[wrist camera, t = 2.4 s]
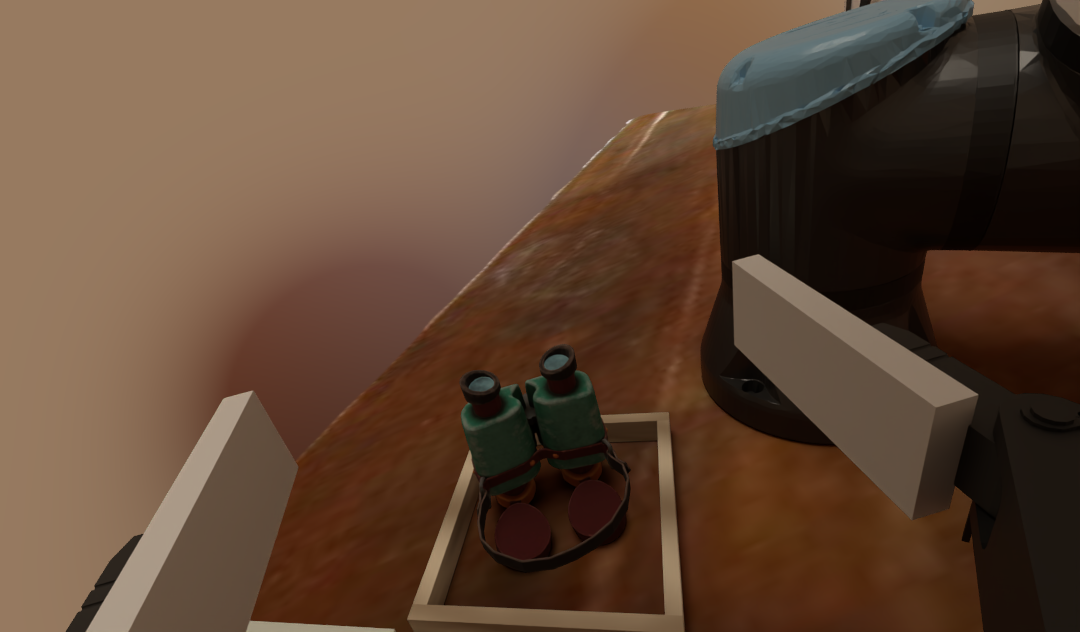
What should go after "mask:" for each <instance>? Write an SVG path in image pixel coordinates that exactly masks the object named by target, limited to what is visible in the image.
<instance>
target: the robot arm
mask: <svg viewBox="0 0 1080 632" xmlns="http://www.w3.org/2000/svg"><path fill="white" fill-rule="evenodd" d="M973 8H974V2H973V1H972V0H883V1H880V2H876V3H872V4H869V5H865V6H862V7H859V8H855V9H852V10H849V11H845V12H842V13H839V14H836V15H833V16H830V17H827V18H823V19H821V20H818V21H814V22H812V23H808V24H805V25H803V26H800V27H798V28H794V29H792V30H789V31H786V32H783V33H781V34H778V35H776V36H773V37H771V38H768V39H766V40H764V41H761V42H759V43H757V44H755V45H753V46H751V47H749V48H747V49H745V50H743V51H742V52H740V53H739V54H738V55H736V56H735V57H734V58H733V59H732V60H731V61H730V62H729V63H728V64H727V65H726V66H725V68H724V69H723V71H722V73H721V75H720V78H719V81H718V85H717V105H716V134H715V136H714V138H713V147H715V149H716V156H717V179H718V201H719V224H720V246H721V267H722V282H721V286H720V289H719V291H718V294H717V297H716V300H715V303H714V306H713V309H712V312H711V315H710V318H709V321H708V324H707V327H706V330H705V333H704V335H703V339H702V343H701V369H702V378H703V382H704V385H705V387H706V389H707V391H708V392H709V394H710V396H711V397H712V398H713V399H714V401H715V402H716V403H717V404H718V405H719V406H720V407H721V408H722V409H724V410H725V411H726V412H727V413H729V414H730V415H732V416H733V417H735V418H736V419H738V420H740V421H741V422H743V423H745V424H747V425H749V426H751V427H754V428H756V429H758V430H761V431H763V432H766V433H769V434H772V435H776V436H779V437H783V438H787V439H791V440H797V441H803V442H810V443H820V444H835V445H836V446H837V447H838V448H839V449H840V450H841V451H842V452H843V453H844V454H845V455H846V456H847V457H848V458H849V459H850V460H851V461H852V462H853V463H855V464H856V465H857V466H858V467H859V468H860V469H861V470H862V471H863V472H864V473H865V474H866V475H867V476H868V477H869V478H870V479H871V480H872V481H873V482H874V483H875V484H876V485H877V486H878V487H879V488H880V489H881V490H882V491H883V492H884V493H885V494H886V495H887V496H888V497H889V498H890V499H891V500H892V501H893V502H894V503H895V504H896V505H897V506H898V507H899V508H900V509H901V510H902V511H903V512H904V513H905V514H906V515H907V516H908V517H909V518H910V519H911V520H914V519H917V518H921V517H924V516H927V515H930V514H934V513H937V512H940V511H943V510H946V509H949V507H950V503H951V499H952V495H953V492H954V488H955V486H956V487H958V488H959V489H960V490H961V491H962V492H963V493H965V494H966V495H967V496H968V497H969V498H971V499H972V500H973V501H972V504H971V507H970V511H969V514H968V518H967V521H966V525H965V528H964V532H963V536H962V541H965V542H969V541H970V538H971V534H972V539H973V548H974V556H975V564H976V572H977V580H978V589H979V597H980V605H981V613H982V622H983V630H984V632H1080V404H1077V403H1075V402H1072V401H1070V400H1067V399H1064V398H1061V397H1056V396H1051V395H1046V394H1034V393H1023V394H1018V395H1015V394H1014V393H1012V392H1010V391H1009V390H1007V389H1005V388H1004V387H1002V386H1000V385H999V384H997V383H995V382H994V381H992V380H990V379H989V378H987V377H985V376H983V375H982V374H980V373H978V372H977V371H975V370H973V369H972V368H970V367H968V366H967V365H965V364H963V363H962V362H960V361H958V360H957V359H955V358H953V357H948V355H947V353H945V352H943V351H942V350H940V349H938V348H937V344H936V341H935V337H934V333H933V329H932V325H931V322H930V318H929V314H928V310H927V307H926V303H925V299H924V295H923V291H922V288H921V282H922V275H923V269H924V263H925V257H926V253H927V251H928V250H968V251H971V250H978V251H1018V252H1058V253H1080V0H1043V1H1042V3H1041V4H1038V5H1033V6H1027V7H1022V8H1017V9H1011V10H1005V11H1000V12H993V13H987V14H981V15H974V16H972V14H973ZM297 470H298V465H297V464H296V462H295V460H294V459H293V457H292V455H291V453H290V452H289V450H288V448H287V447H286V445H285V443H284V442H283V440H282V438H281V437H280V435H279V433H278V431H277V430H276V428H275V426H274V425H273V423H272V421H271V419H270V418H269V416H268V414H267V413H266V411H265V409H264V407H263V406H262V405H261V402H260V401H259V399H258V397H257V396H256V394H255V392H254V391H249V392H246V393H242V394H239V395H235V396H231V397H227V398H224V399H223V400H222V402H221V404H220V406H219V408H218V409H217V411H216V413H215V414H214V416H213V417H212V419H211V421H210V423H209V424H208V426H207V428H206V429H205V431H204V433H203V434H202V436H201V438H200V439H199V441H198V443H197V444H196V446H195V448H194V450H193V451H192V453H191V455H190V456H189V458H188V460H187V461H186V463H185V465H184V467H183V468H182V470H181V472H180V473H179V475H178V477H177V478H176V480H175V482H174V484H173V485H172V487H171V488H170V490H169V492H168V494H167V495H166V497H165V499H164V500H163V502H162V504H161V505H160V507H159V509H158V510H157V512H156V514H155V516H154V517H153V519H152V521H151V522H150V524H149V526H148V527H147V529H146V531H145V533H144V534H141V535H137V536H134V537H133V538H132V539H131V540H130V541H129V542H128V543H127V544H126V545H125V546H124V547H123V548H122V549H121V550H120V551H119V552H118V553H117V554H116V555H115V556H114V557H113V558H112V559H111V560H110V562H109V563H108V565H107V566H106V568H105V570H104V571H103V573H102V574H101V576H100V578H99V579H98V581H97V583H96V584H95V590H93V591H91V592H90V594H89V595H88V597H87V599H86V600H85V602H84V603H83V605H82V611H81V612H78V613H77V615H76V616H75V618H74V619H73V621H72V623H71V624H70V626H69V627H68V629H67V630H66V632H246V631H247V627H248V624H249V621H250V618H251V615H252V612H253V609H254V605H255V602H256V599H257V596H258V593H259V590H260V586H261V583H262V580H263V577H264V574H265V571H266V568H267V564H268V561H269V558H270V555H271V552H272V549H273V546H274V542H275V539H276V536H277V533H278V530H279V527H280V523H281V520H282V517H283V514H284V511H285V508H286V505H287V501H288V498H289V495H290V492H291V489H292V486H293V483H294V479H295V476H296V473H297Z"/></svg>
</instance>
